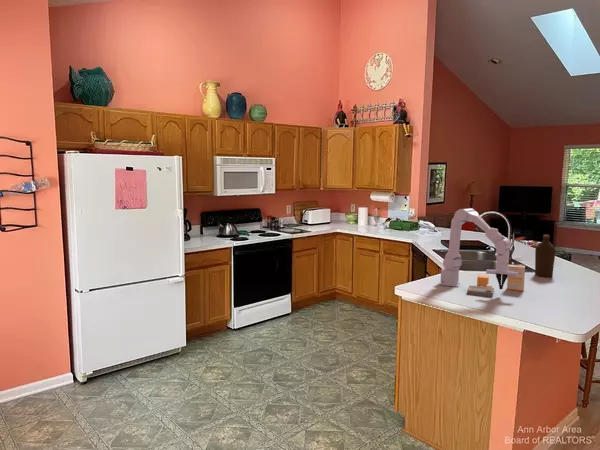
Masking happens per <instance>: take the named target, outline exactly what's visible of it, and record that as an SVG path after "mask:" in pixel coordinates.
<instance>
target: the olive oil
mask: <svg viewBox="0 0 600 450" xmlns="http://www.w3.org/2000/svg"><path fill="white" fill-rule="evenodd" d="M534 258H535V259H534V260H535V261H534V264H535V265H534V275H535V276H537V277H541V278H552V277H553V275H554V267H555V259H556V248H555V246H554V244H553V243H551V242H550V234H543V237H542V241H541V242H540V243H539V244H538V245H537V246H536V248H535V257H534Z"/></svg>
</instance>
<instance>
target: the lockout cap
mask: <svg viewBox="0 0 600 450" xmlns="http://www.w3.org/2000/svg"><path fill="white" fill-rule="evenodd" d="M476 278H477V279H476V281H477V282H476V286H479V287H480V286H483V287H487V284H488V285H490V284H489V281H490V276H489V275H480V274H478V275H477V277H476Z"/></svg>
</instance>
